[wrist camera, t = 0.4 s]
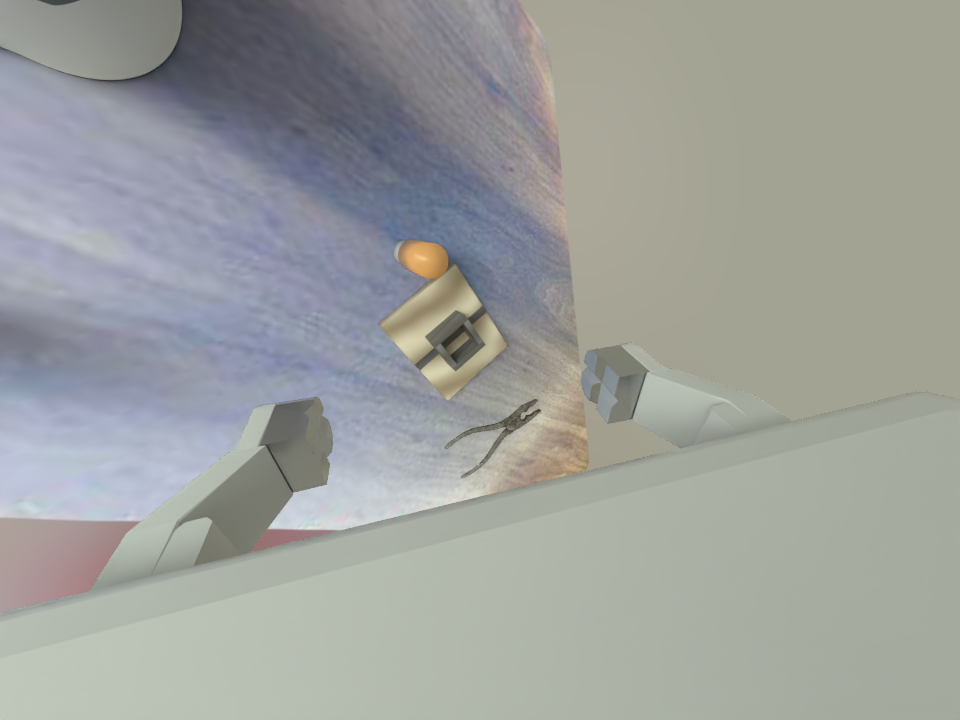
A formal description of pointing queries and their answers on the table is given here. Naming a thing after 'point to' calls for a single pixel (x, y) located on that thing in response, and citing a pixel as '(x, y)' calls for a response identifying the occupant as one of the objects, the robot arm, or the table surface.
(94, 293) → the table surface
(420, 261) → the orange rounded handle
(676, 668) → the robot arm
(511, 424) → the pliers
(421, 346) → the cream rectangular base board
